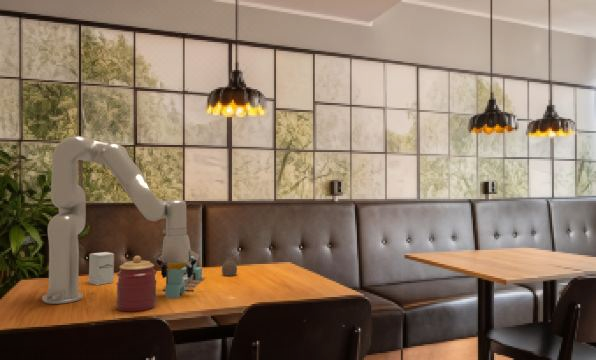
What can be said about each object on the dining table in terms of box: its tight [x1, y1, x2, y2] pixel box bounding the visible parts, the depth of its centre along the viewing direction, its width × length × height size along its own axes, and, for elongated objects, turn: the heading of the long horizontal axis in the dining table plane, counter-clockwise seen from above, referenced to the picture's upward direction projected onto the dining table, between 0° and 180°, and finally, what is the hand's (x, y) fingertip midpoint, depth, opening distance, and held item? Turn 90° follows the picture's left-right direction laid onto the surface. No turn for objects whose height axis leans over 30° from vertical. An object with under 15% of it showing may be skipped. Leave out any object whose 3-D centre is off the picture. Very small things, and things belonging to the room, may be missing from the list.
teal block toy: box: [164, 269, 186, 299], centre depth 168 cm, size 8×6×10 cm
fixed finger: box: [181, 255, 203, 280], centre depth 193 cm, size 8×6×10 cm
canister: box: [115, 255, 158, 312], centre depth 152 cm, size 13×13×18 cm
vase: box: [221, 257, 238, 277], centre depth 202 cm, size 7×7×9 cm
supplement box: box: [88, 251, 115, 286], centre depth 188 cm, size 7×7×13 cm
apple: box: [166, 263, 186, 270], centre depth 205 cm, size 9×9×9 cm
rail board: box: [162, 273, 207, 293], centre depth 185 cm, size 22×12×4 cm, turn 177°
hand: (177, 277), depth 168 cm, fingers open, 9 cm apart
